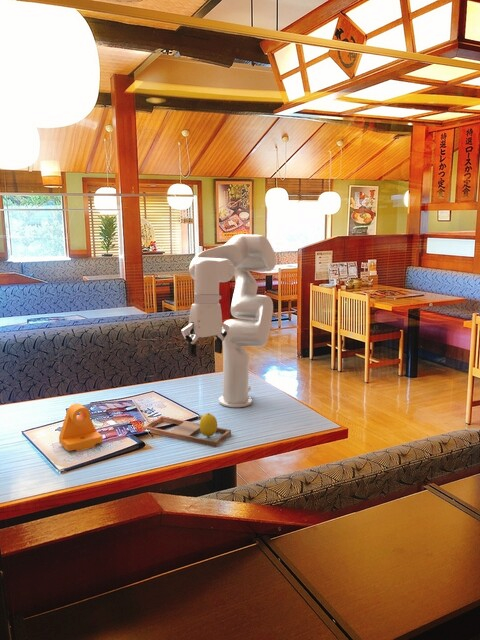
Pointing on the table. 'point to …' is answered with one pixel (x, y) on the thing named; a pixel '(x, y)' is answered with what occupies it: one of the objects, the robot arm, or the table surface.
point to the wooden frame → (186, 431)
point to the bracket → (78, 430)
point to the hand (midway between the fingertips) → (205, 354)
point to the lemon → (208, 425)
